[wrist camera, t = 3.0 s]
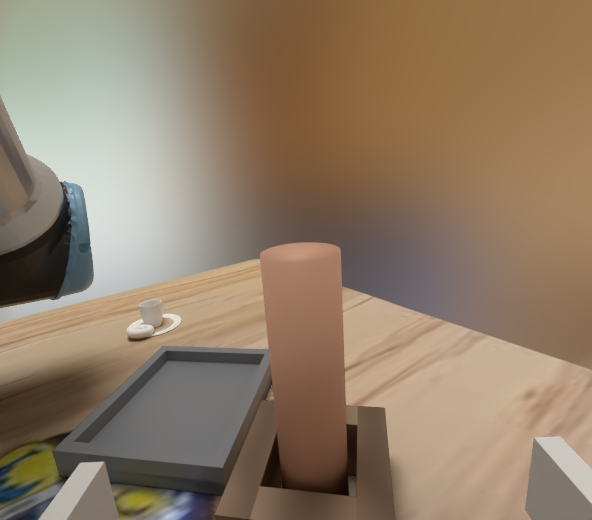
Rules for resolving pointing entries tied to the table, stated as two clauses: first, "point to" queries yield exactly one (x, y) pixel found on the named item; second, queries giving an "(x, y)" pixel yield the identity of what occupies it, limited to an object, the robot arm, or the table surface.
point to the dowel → (307, 364)
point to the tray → (174, 420)
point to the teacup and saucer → (151, 320)
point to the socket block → (302, 504)
